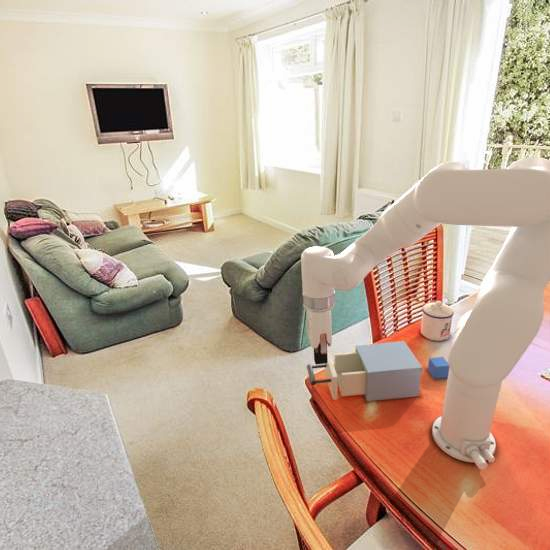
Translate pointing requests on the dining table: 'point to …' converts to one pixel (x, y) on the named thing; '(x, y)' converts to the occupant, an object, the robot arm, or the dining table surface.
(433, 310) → the teacup with lid
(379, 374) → the grey drawer cabinet
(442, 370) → the blue wooden cube
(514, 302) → the robot arm
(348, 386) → the drawer
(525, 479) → the dining table surface
